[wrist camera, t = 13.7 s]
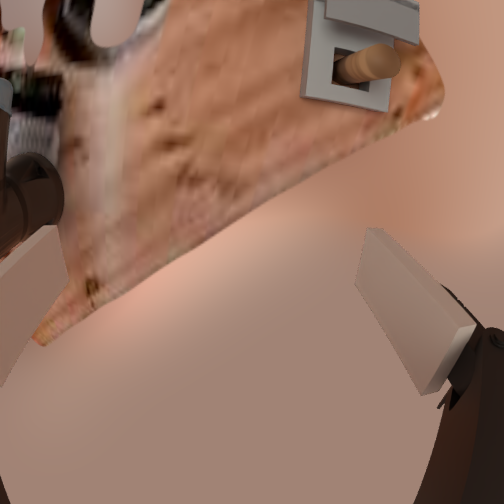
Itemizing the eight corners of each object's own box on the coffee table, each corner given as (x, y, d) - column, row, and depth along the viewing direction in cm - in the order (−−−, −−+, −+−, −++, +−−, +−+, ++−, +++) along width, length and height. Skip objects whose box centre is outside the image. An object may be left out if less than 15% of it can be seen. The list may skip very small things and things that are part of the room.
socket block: (299, 96, 39) (319, 93, 29) (308, 0, 32) (328, -28, 22) (376, 111, 40) (412, 115, 30) (383, 19, 33) (419, 2, 23)
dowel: (328, 82, 38) (366, 73, 26) (330, 57, 37) (368, 39, 24) (353, 87, 39) (399, 82, 26) (356, 63, 37) (401, 49, 24)
